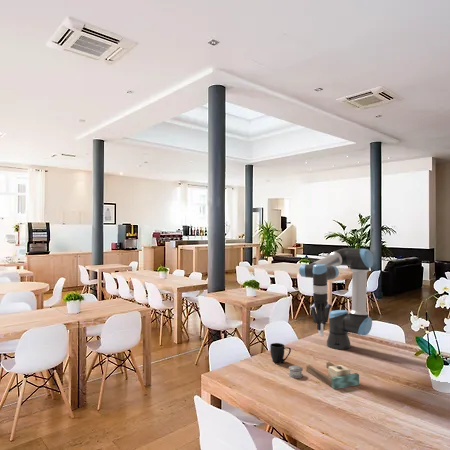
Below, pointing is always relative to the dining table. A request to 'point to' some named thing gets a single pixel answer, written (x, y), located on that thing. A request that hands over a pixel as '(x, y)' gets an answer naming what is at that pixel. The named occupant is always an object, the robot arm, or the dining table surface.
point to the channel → (334, 378)
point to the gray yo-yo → (295, 371)
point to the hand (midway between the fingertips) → (321, 335)
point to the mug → (278, 352)
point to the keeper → (338, 371)
